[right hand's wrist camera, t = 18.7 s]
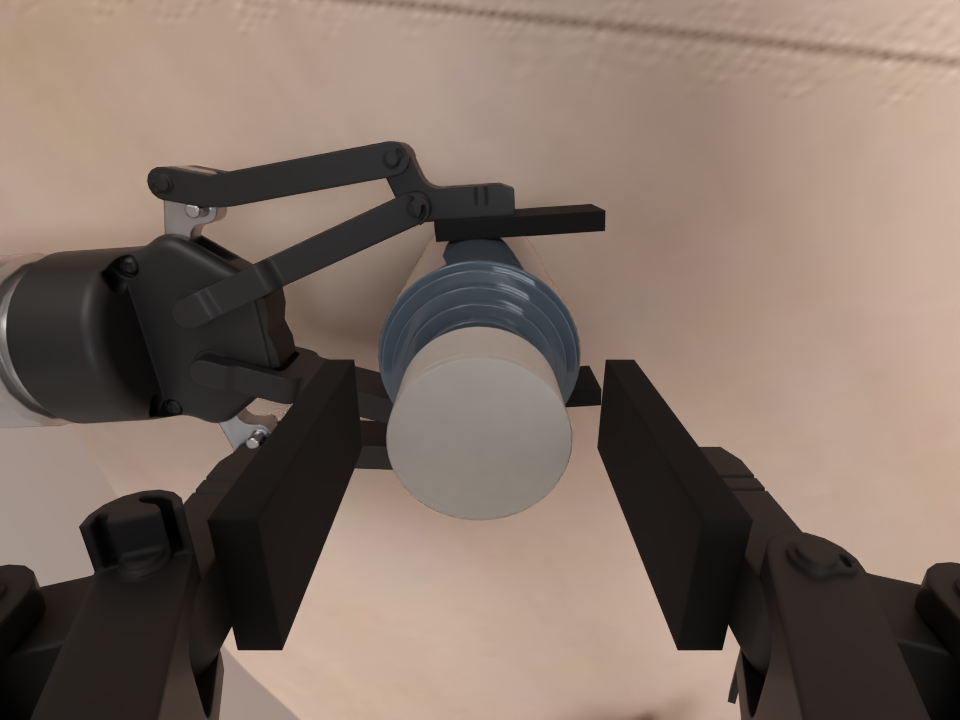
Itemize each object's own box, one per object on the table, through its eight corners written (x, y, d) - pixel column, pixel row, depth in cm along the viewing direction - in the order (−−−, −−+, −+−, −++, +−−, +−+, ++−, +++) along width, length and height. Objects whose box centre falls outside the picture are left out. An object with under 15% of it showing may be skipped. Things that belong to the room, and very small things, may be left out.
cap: (429, 301, 14) (419, 331, 11) (584, 357, 14) (603, 395, 12) (380, 441, 15) (363, 490, 13) (522, 486, 16) (529, 541, 13)
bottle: (560, 303, 29) (654, 482, 13) (455, 354, 31) (428, 575, 15) (507, 192, 27) (545, 249, 11) (396, 252, 28) (288, 380, 12)
